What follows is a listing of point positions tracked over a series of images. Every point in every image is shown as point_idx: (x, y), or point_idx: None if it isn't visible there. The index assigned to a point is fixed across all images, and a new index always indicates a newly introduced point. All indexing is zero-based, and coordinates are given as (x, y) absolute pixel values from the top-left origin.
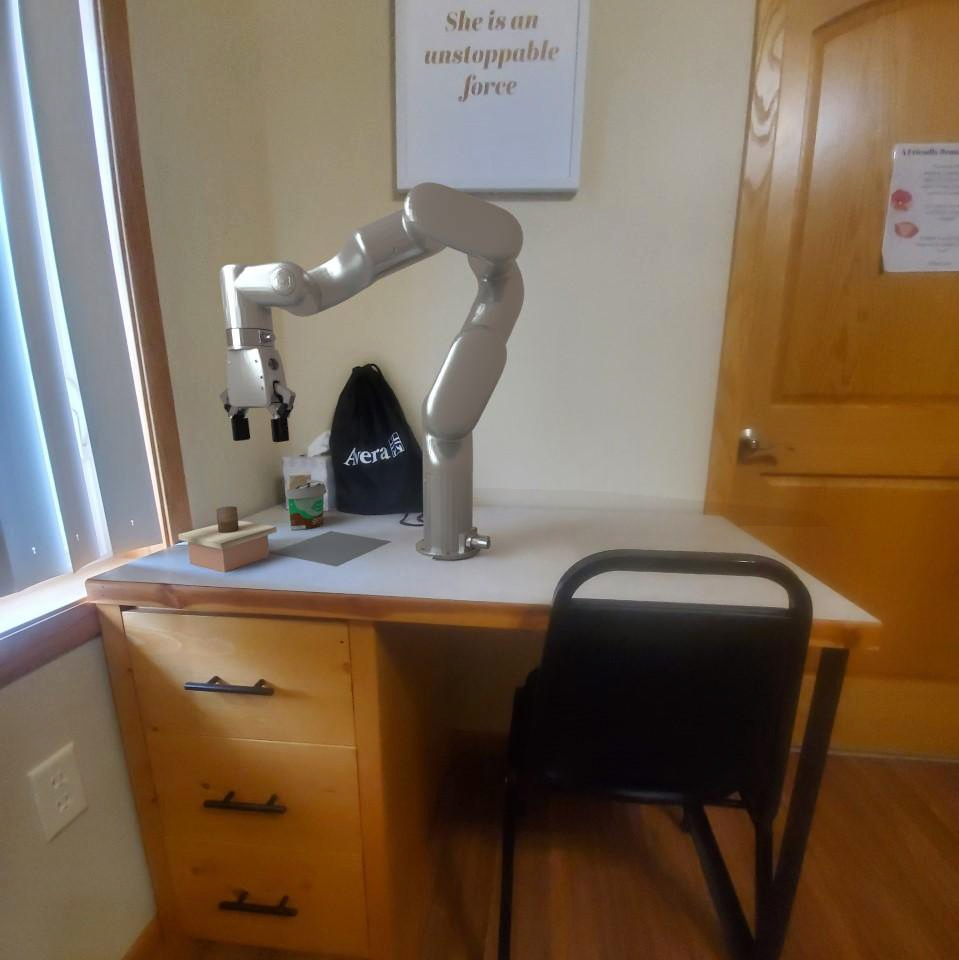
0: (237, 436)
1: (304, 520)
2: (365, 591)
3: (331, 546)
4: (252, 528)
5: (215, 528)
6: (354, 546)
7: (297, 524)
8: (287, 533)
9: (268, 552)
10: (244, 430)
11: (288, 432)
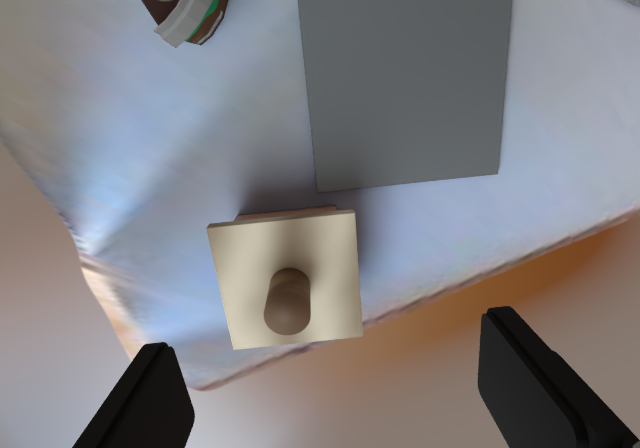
0: (187, 431)
1: (218, 9)
2: (599, 214)
3: (402, 87)
4: (320, 250)
5: (251, 293)
6: (451, 53)
7: (208, 30)
8: (193, 54)
9: (336, 210)
10: (156, 420)
11: (537, 336)
